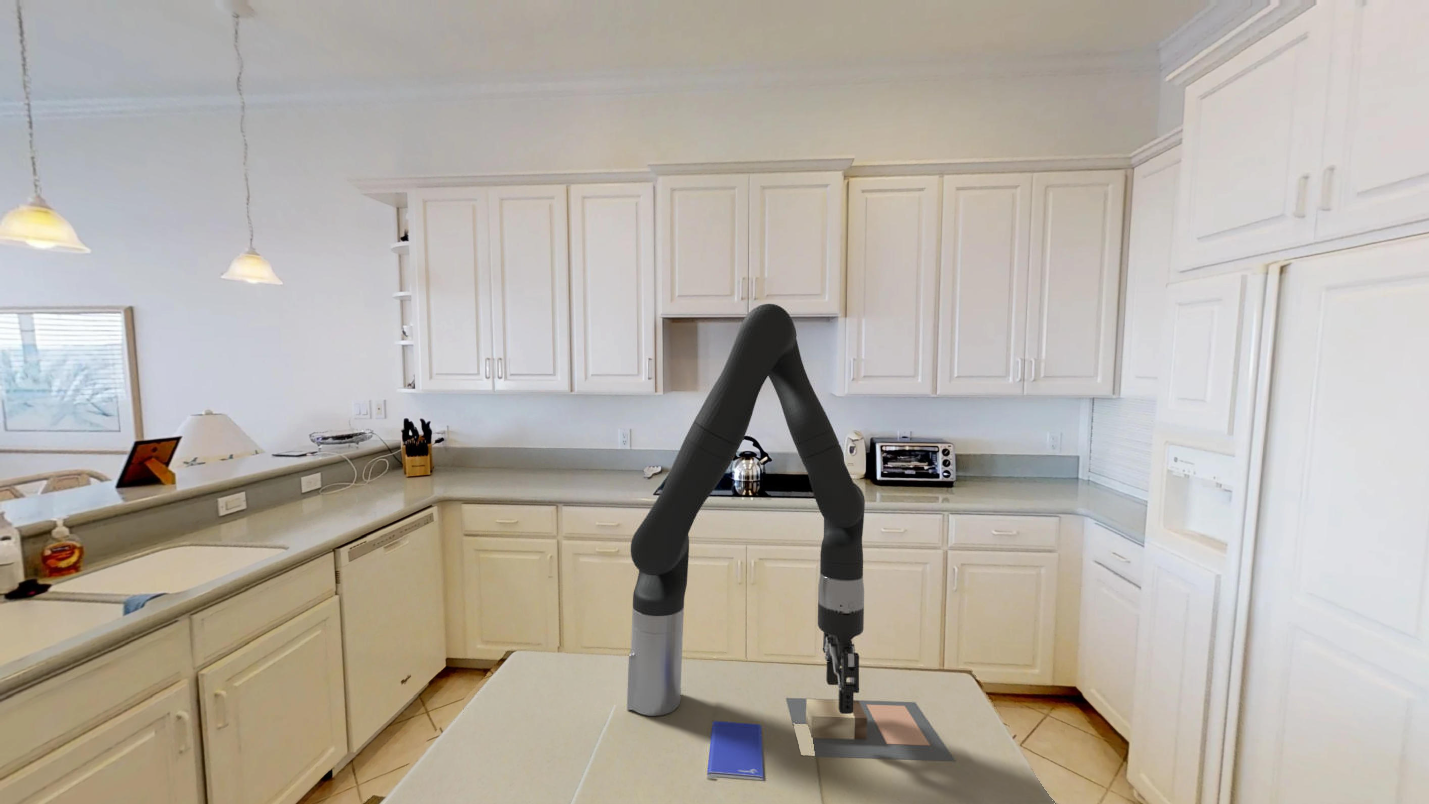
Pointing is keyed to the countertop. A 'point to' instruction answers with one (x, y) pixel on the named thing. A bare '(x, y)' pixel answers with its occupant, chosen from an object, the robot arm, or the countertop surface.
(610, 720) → the countertop surface
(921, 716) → the rubber mat
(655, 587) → the robot arm
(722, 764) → the hard drive
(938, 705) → the countertop surface
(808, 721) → the beige rectangular block
